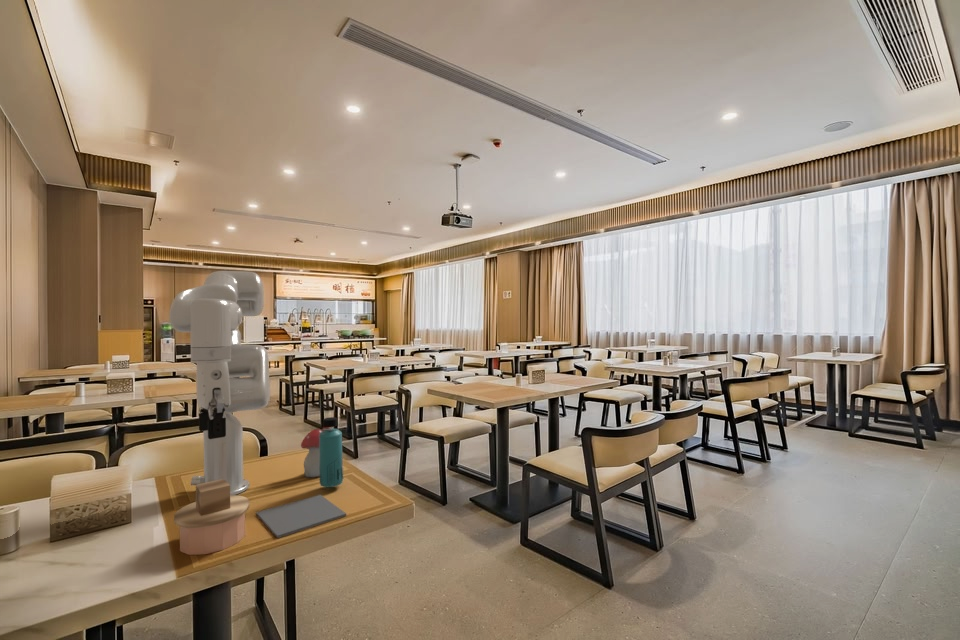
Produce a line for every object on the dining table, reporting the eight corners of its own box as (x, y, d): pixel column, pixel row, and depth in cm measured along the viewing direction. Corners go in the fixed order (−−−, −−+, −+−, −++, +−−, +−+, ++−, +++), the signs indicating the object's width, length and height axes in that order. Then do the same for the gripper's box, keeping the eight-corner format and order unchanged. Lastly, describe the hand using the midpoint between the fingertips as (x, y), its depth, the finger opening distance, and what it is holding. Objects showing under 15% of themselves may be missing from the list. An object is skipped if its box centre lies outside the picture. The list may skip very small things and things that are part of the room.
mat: (277, 538, 96) (277, 535, 96) (256, 514, 108) (256, 512, 108) (346, 515, 107) (346, 513, 107) (320, 496, 119) (320, 494, 119)
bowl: (166, 555, 90) (166, 526, 90) (201, 527, 102) (201, 501, 102) (226, 553, 90) (226, 524, 90) (254, 526, 102) (254, 500, 102)
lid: (257, 513, 96) (256, 485, 96) (179, 534, 86) (179, 504, 86) (240, 494, 106) (239, 469, 106) (169, 511, 97) (169, 484, 97)
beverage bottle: (338, 492, 122) (338, 420, 122) (315, 492, 122) (314, 420, 122) (346, 484, 128) (345, 415, 128) (324, 484, 128) (323, 415, 128)
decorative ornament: (332, 468, 141) (331, 422, 141) (334, 475, 135) (333, 426, 135) (300, 473, 138) (300, 425, 138) (301, 480, 132) (301, 430, 132)
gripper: (240, 355, 92) (241, 437, 92) (221, 352, 105) (222, 424, 105) (198, 358, 87) (199, 444, 87) (184, 354, 100) (184, 430, 100)
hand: (212, 433), depth 96 cm, fingers open, 9 cm apart
